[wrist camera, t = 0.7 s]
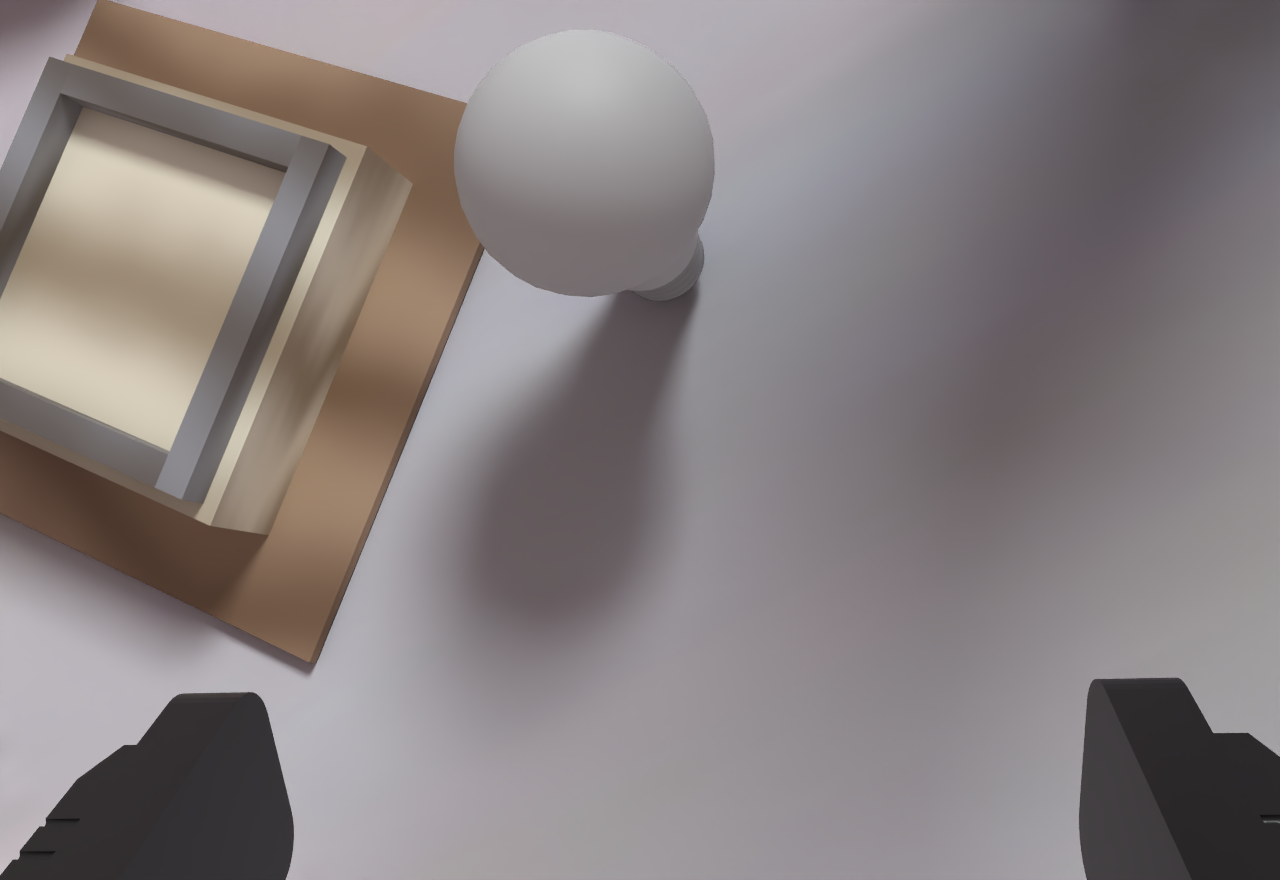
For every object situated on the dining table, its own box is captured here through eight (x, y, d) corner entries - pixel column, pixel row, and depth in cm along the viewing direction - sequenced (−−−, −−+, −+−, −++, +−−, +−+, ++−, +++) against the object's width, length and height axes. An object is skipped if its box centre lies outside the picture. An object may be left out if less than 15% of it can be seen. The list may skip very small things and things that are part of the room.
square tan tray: (106, 3, 44) (13, -65, 39) (533, 126, 38) (477, 61, 34) (-93, 465, 42) (-210, 444, 38) (316, 662, 37) (230, 663, 33)
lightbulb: (533, 273, 37) (356, 126, 27) (675, 131, 36) (550, -77, 26) (663, 410, 35) (527, 308, 25) (814, 262, 35) (740, 94, 24)
